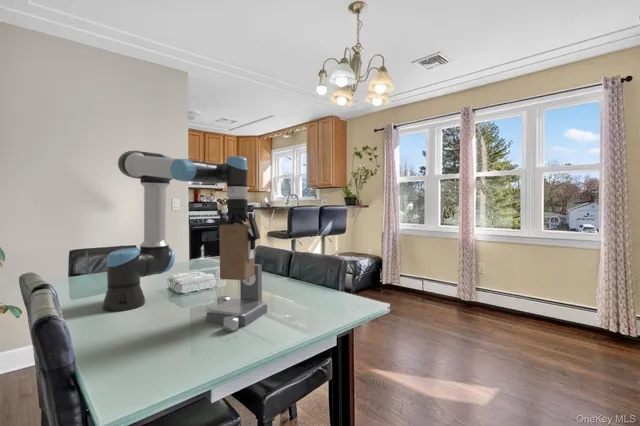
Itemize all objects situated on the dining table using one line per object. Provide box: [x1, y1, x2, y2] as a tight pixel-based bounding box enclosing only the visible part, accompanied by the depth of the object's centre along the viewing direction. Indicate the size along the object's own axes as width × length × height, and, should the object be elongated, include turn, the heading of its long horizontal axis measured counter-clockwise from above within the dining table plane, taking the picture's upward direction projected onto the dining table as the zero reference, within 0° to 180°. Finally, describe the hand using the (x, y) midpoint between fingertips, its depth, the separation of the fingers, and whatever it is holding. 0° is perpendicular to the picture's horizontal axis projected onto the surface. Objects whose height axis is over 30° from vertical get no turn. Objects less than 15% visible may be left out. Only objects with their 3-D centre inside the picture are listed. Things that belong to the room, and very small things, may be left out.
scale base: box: [206, 263, 268, 328], centre depth 125 cm, size 16×19×18 cm
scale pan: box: [208, 297, 266, 317], centre depth 124 cm, size 15×15×4 cm
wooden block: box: [219, 222, 255, 281], centre depth 123 cm, size 10×10×20 cm
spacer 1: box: [216, 295, 231, 306], centre depth 135 cm, size 5×5×4 cm
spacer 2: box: [222, 316, 240, 334], centre depth 111 cm, size 5×5×4 cm
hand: (237, 257), depth 123 cm, fingers closed on wooden block, 10 cm apart
